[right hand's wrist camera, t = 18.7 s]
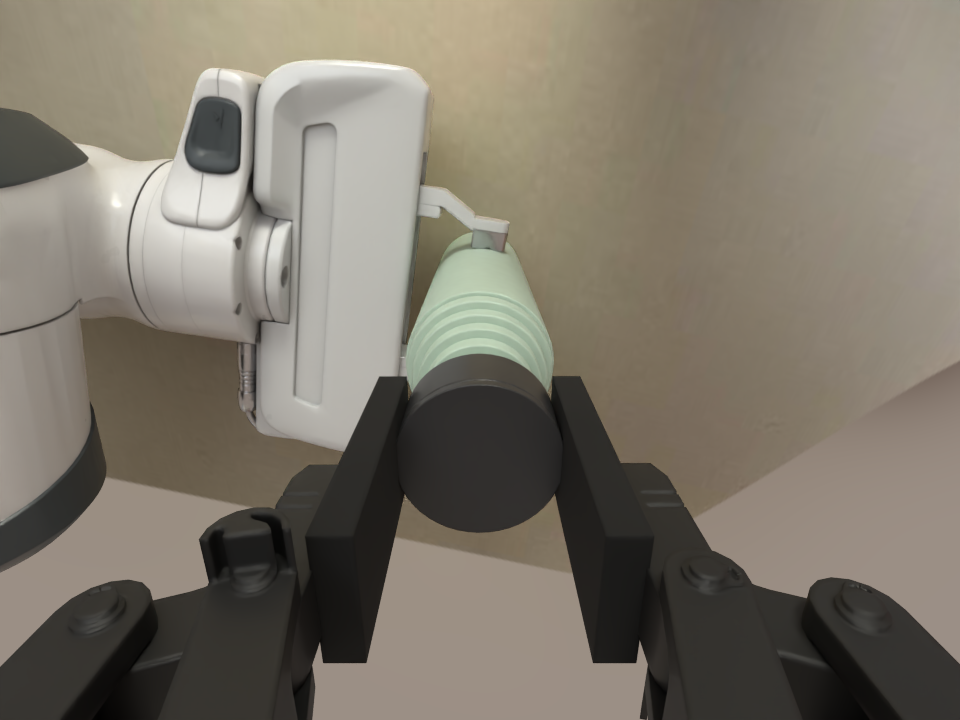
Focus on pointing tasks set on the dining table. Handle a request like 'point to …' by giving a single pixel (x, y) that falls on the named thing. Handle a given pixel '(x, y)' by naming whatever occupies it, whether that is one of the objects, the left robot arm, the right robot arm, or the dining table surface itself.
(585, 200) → the dining table surface
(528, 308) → the bottle
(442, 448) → the cap
